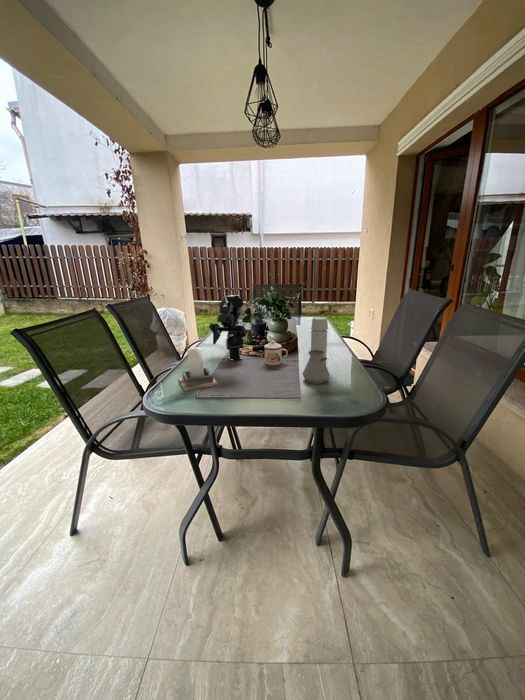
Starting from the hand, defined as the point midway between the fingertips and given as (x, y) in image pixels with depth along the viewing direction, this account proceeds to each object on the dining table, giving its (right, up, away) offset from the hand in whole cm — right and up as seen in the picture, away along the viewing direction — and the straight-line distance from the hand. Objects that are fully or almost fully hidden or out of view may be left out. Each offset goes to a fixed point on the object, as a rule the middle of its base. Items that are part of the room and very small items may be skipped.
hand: (221, 344), depth 135 cm
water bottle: (+46, -12, +2) cm, 47 cm away
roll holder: (-9, -17, -9) cm, 21 cm away
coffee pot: (+42, -17, -15) cm, 48 cm away
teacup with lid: (+26, -9, +14) cm, 31 cm away
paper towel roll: (-9, -16, -9) cm, 20 cm away
